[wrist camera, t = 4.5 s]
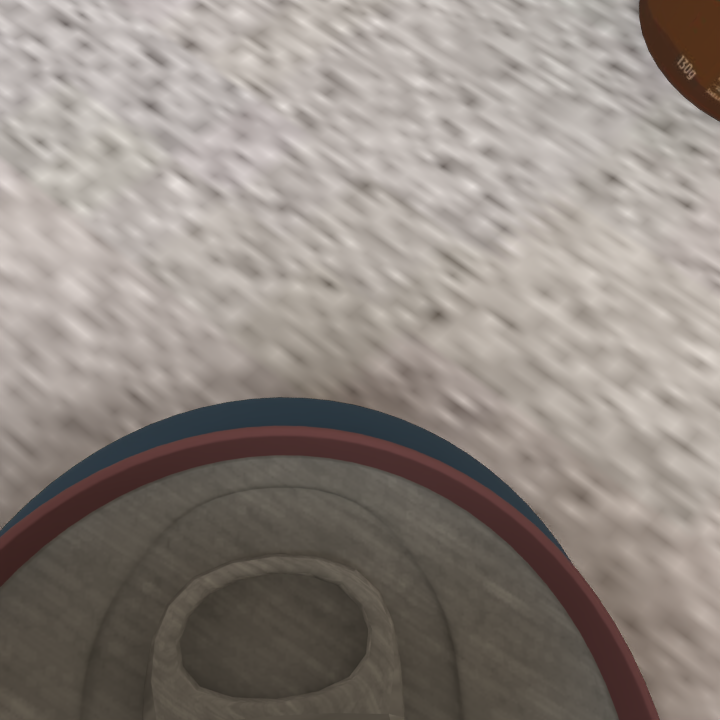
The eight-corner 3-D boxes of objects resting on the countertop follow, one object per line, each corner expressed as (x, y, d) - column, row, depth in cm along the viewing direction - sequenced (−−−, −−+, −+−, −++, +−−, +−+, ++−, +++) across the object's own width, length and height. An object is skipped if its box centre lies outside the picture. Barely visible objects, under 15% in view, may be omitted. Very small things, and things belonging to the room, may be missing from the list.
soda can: (431, 760, 15) (911, 1541, 3) (137, 785, 14) (-551, 1927, 3) (413, 473, 17) (682, 343, 5) (152, 481, 16) (-209, 351, 4)
